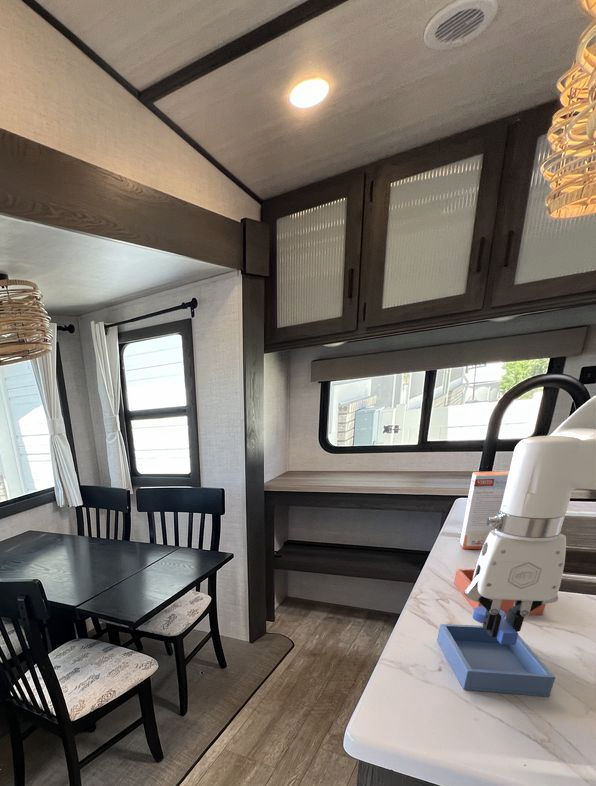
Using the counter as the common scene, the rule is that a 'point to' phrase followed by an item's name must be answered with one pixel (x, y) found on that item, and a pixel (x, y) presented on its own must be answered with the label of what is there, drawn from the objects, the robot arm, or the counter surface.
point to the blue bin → (493, 662)
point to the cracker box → (482, 507)
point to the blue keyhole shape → (505, 630)
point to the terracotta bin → (462, 582)
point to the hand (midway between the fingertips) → (499, 633)
